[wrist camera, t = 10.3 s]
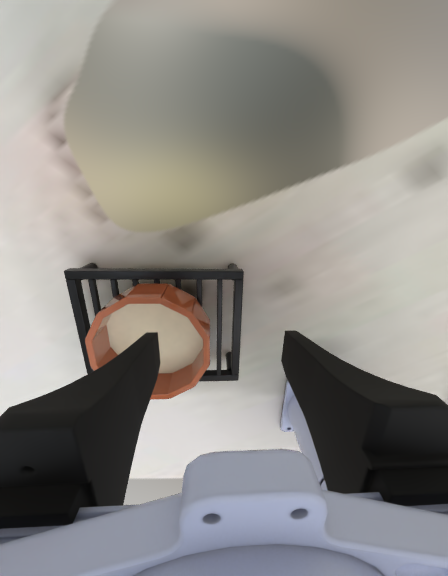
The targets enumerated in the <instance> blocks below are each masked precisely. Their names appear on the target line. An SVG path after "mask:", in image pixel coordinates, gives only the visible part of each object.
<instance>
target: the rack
mask: <svg viewBox="0 0 448 576" xmlns="http://www.w3.org/2000/svg"><path fill="white" fill-rule="evenodd" d="M64 274H65V278H66V282H67V287H68V291H69V295H70V300H71V304H72V308H73V313H74V317H75V321H76V326H77V330H78V335H79V339H80V343H81V348H82V352H83V356H84V361H85V365H86V369H87V374H90V373H92V372H93V371H94V370H93V369H92V368H91V366H90V362H89V357H88V353H87V348H86V344H85V338H86V336H87V334H88V332H89V329H90V323H89V318H88V314H87V309H86V304H85V299H84V294H83V289H82V285H81V280H83V279H89V280H88V281H89V286H90V291H91V297H92V302H93V307H94V312H95V317H96V314H97V313H98V312H99V311H100V310H101V307H100V301H99V296H98V290H97V285H96V279H111V280H110V281H111V287H112V293H113V298H114V297H115V296H117V295H119V289H118V282H117V279H133V280H132V282H133V286H135V285H136V284H139V279H154V283H160V279H176V280H175V282H176V288H178V289H180V290H181V279H197V301H198V302H199V304H200V305H201V307H202V279H217V370H206V371H205V372H204V374H203V375H202V377H201V378H200V380H199V381H234V380H238V376H239V375H238V374H239V356H240V335H241V315H242V294H243V275H244V272H243V269H238V267H237V265H235V264H230V265H229V266H228V269H98V268H97V266H96V265H95V264H93V263H90V264H88V265H86V266H84V267H82V268H70V269H67V270H65V271H64ZM222 279H232V280H234V291H233V321H232V350H231V352H228V353H227V354H226V363H227V370H221V342H222Z"/></svg>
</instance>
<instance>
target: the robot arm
mask: <svg viewBox="0 0 448 576" xmlns="http://www.w3.org/2000/svg"><path fill="white" fill-rule="evenodd" d="M281 361H282V364H283V368H284V371H285V374H286V377H287V382H286V389H285V397H284V404H283V411H282V418H281V425H280V428H281V430H282V431H284V432H287V431H294V433H295V436H296V438H297V441H298V444H299V447H300V449H301V452H302V453H301V452H299V451H294V450H287V449H272V450H247V451H223V452H212V453H208V454H203V455H200V456H199V457H197V458H196V459H195V460H193V461H192V462H191V463H189V464H188V465H187V467H186V470H185V473H184V476H183V487H182V493H178V494H175V495H171V496H168V497H165V498H161V499H157V500H154V501H150V502H147V503H144V504H140V505H123V503H124V498H125V493H126V488H127V484H128V479H129V474H130V470H131V465H132V461H133V457H134V452H135V448H136V444H137V440H138V436H139V432H140V428H141V424H142V421H143V418H144V415H145V412H146V409H147V406H148V404H149V401H150V398H151V395H152V392H153V390H154V387H155V384H156V381H157V377H158V373H159V368H160V363H161V362H160V351H159V341H158V332H147V333H145V334H144V335H143V336H141V337H140V338H139V339H138V340H137V341H135V342H134V343H133V344H132V345H130V346H129V347H128V348H127V349H125V350H124V351H123V352H122V353H120V354H119V355H117V356H116V357H115V358H113V359H112V360H111V361H109V362H108V363H106V364H105V365H103V366H102V367H100V368H98V369H97V370H95V371H93V372H92V373H90V374H88V375H86V376H84V377H82V378H80V379H78V380H76V381H74V382H73V383H71V384H69V385H66V386H64V387H62V388H60V389H58V390H55V391H53V392H50V393H48V394H46V395H43V396H40V397H38V398H35V399H32V400H29V401H27V402H24V403H21V404H18V405H15V406H12V407H9V408H8V409H7V410H6V411H5V412H4V413H3V414H2V415H1V416H0V576H448V405H447V404H446V403H445V402H443V401H442V400H441V399H440V398H439V397H438V396H436V395H433V394H430V393H426V392H423V391H419V390H416V389H412V388H408V387H405V386H402V385H399V384H396V383H393V382H390V381H388V380H385V379H382V378H380V377H377V376H375V375H372V374H370V373H368V372H365V371H363V370H361V369H359V368H357V367H355V366H353V365H351V364H349V363H347V362H345V361H343V360H341V359H339V358H338V357H336V356H334V355H332V354H331V353H329V352H327V351H326V350H324V349H323V348H321V347H320V346H318V345H317V344H315V343H314V342H312V341H311V340H309V339H308V338H306V337H305V336H303V335H302V334H300V333H299V332H297V331H285V336H284V344H283V352H282V360H281Z"/></svg>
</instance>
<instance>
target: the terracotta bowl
mask: <svg viewBox="0 0 448 576" xmlns="http://www.w3.org/2000/svg"><path fill="white" fill-rule="evenodd" d="M147 332H158V341H159V351H160V362H161V363H160V368H159V373H158V377H157V381H156V384H155V387H154V390H153V392H152V395H151V398H150V399H169V398H172V397H174V396H177V395H179V394H181V393H183V392H185V391H187V390H189V389H191V388H193V387H194V386H196V384H197V383H198V381H199V380H200V378H201V377H202V375H203V374H204V372H205V371H206V370H207V368H208V367H209V364H210V320H209V317H208V316H207V314H206V313H205V311H204V310H203V308H202V307H201V305H200V304H199V302H198V301H197V299H196V298H195V297H194V296H192V295H190V294H188V293H186V292H184V291H182V290H180V289H178V288H176V287H175V286H173V285H171V284H168V283H139V284H136V285H135V286H133V287H131V288H129V289H128V290H126V291H124V292H122V293H121V294H119V295H117V296H115V297H114V298H113V299H112V300H111V301H110V302H109V303H108V304H107V305H106V306H105V307H103V308H102V309H101V310H100V311H99V312H98V313H97V314H96V317H95V319H94V321H93V323H92V325H91V327H90V329H89V332H88V334H87V336H86V338H85V344H86V348H87V353H88V357H89V362H90V366H91V368H92V369H93V370H94V371H95V370H97V369H98V368H100V367H102V366H103V365H105V364H106V363H108V362H109V361H111V360H112V359H113V358H115V357H116V356H117V355H119V354H120V353H122V352H123V351H124V350H125V349H127V348H128V347H129V346H130V345H132V344H133V343H134V342H135V341H137V340H138V339H139V338H140V337H141V336H143V335H144V334H145V333H147Z"/></svg>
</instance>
